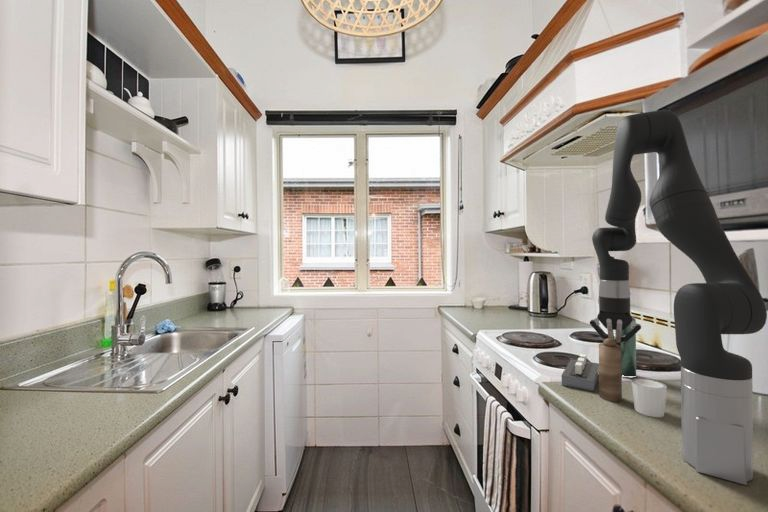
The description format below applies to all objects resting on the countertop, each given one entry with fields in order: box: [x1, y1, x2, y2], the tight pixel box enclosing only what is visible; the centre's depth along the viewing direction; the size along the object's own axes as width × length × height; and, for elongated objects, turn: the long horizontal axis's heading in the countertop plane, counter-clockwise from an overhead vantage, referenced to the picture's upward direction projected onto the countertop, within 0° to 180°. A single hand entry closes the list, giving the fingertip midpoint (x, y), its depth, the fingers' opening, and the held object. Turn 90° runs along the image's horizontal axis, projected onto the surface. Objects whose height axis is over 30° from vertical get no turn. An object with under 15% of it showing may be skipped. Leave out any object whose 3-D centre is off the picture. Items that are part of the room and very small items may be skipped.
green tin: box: [614, 315, 637, 377], centre depth 105 cm, size 5×5×19 cm
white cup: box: [630, 378, 668, 418], centre depth 81 cm, size 7×7×7 cm
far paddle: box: [579, 353, 588, 365], centre depth 107 cm, size 3×2×3 cm, turn 143°
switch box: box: [561, 358, 599, 392], centre depth 103 cm, size 18×8×3 cm, turn 143°
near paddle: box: [575, 362, 583, 374], centre depth 99 cm, size 3×2×3 cm, turn 143°
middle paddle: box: [576, 357, 585, 370], centre depth 103 cm, size 3×2×3 cm, turn 143°
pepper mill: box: [598, 338, 623, 403], centre depth 89 cm, size 5×5×16 cm
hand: (615, 354), depth 98 cm, fingers closed
